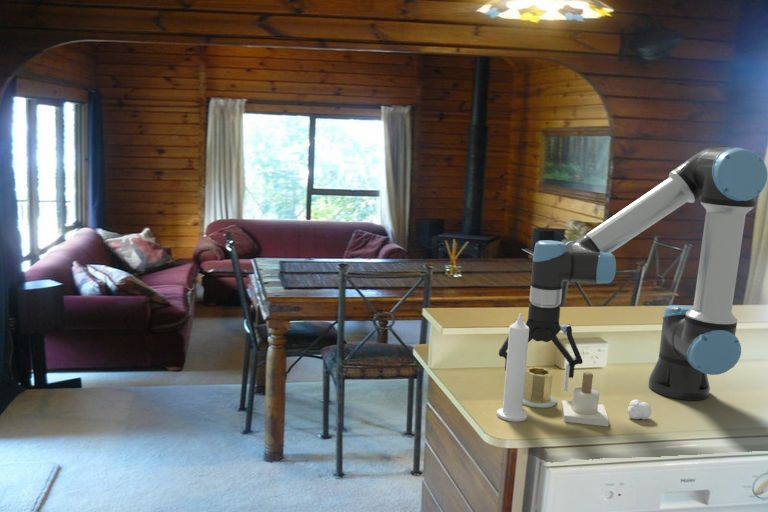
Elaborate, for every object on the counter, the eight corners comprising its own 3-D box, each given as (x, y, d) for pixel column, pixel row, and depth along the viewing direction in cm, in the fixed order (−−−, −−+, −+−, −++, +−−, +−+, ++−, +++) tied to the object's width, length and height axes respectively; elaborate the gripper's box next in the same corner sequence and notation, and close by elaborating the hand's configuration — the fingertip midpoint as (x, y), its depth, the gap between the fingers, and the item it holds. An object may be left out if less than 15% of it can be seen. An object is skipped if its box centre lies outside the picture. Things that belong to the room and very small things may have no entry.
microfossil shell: (630, 401, 175) (654, 406, 174) (627, 394, 180) (650, 398, 179) (627, 419, 176) (651, 424, 175) (623, 412, 181) (647, 416, 180)
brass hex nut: (549, 395, 188) (551, 368, 187) (550, 404, 182) (553, 377, 180) (522, 392, 189) (525, 365, 188) (523, 401, 183) (525, 374, 181)
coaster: (555, 395, 190) (555, 393, 190) (557, 410, 180) (557, 407, 180) (515, 391, 191) (515, 389, 191) (515, 405, 181) (516, 403, 181)
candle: (520, 424, 170) (529, 318, 166) (491, 416, 174) (500, 313, 169) (531, 415, 176) (540, 312, 171) (503, 407, 180) (512, 307, 175)
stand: (602, 410, 181) (607, 369, 179) (608, 426, 171) (612, 383, 170) (561, 405, 183) (565, 365, 181) (563, 421, 173) (568, 378, 171)
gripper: (595, 304, 183) (587, 386, 187) (493, 296, 187) (487, 376, 190) (599, 312, 176) (590, 397, 179) (493, 303, 179) (486, 386, 183)
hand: (537, 386), depth 185 cm, fingers open, 13 cm apart
